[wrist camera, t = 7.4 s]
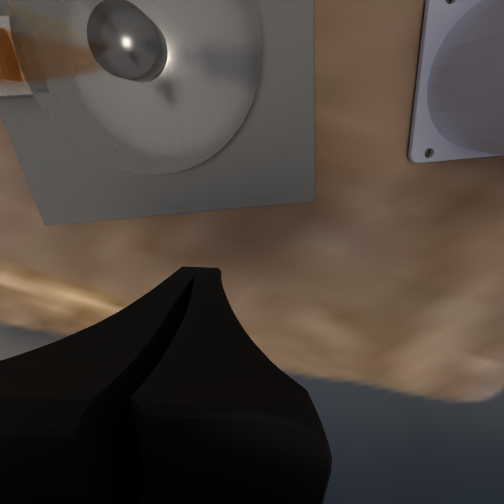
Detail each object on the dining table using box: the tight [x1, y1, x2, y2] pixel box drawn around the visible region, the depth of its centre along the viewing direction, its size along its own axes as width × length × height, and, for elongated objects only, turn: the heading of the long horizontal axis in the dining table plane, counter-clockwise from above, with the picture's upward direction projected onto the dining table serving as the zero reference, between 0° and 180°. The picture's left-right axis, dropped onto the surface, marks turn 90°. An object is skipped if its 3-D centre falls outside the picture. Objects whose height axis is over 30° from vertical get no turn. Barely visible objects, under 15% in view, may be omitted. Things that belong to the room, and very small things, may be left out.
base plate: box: [0, 0, 315, 226], centre depth 14 cm, size 16×16×3 cm
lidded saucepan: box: [0, 0, 262, 174], centre depth 12 cm, size 14×11×5 cm
